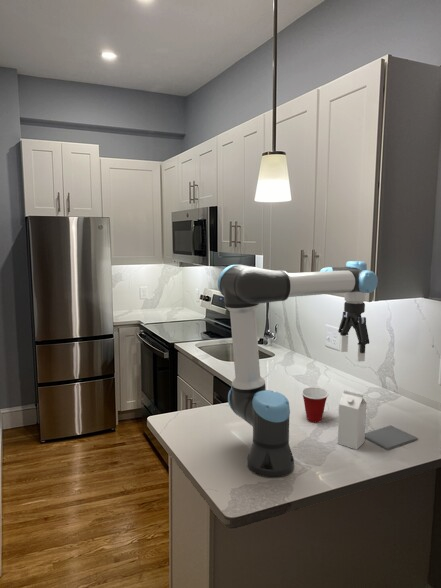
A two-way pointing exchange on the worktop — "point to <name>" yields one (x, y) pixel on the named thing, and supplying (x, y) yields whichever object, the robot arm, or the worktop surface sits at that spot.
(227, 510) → the worktop surface
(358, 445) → the milk carton
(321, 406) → the plastic cup
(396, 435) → the gray mat
